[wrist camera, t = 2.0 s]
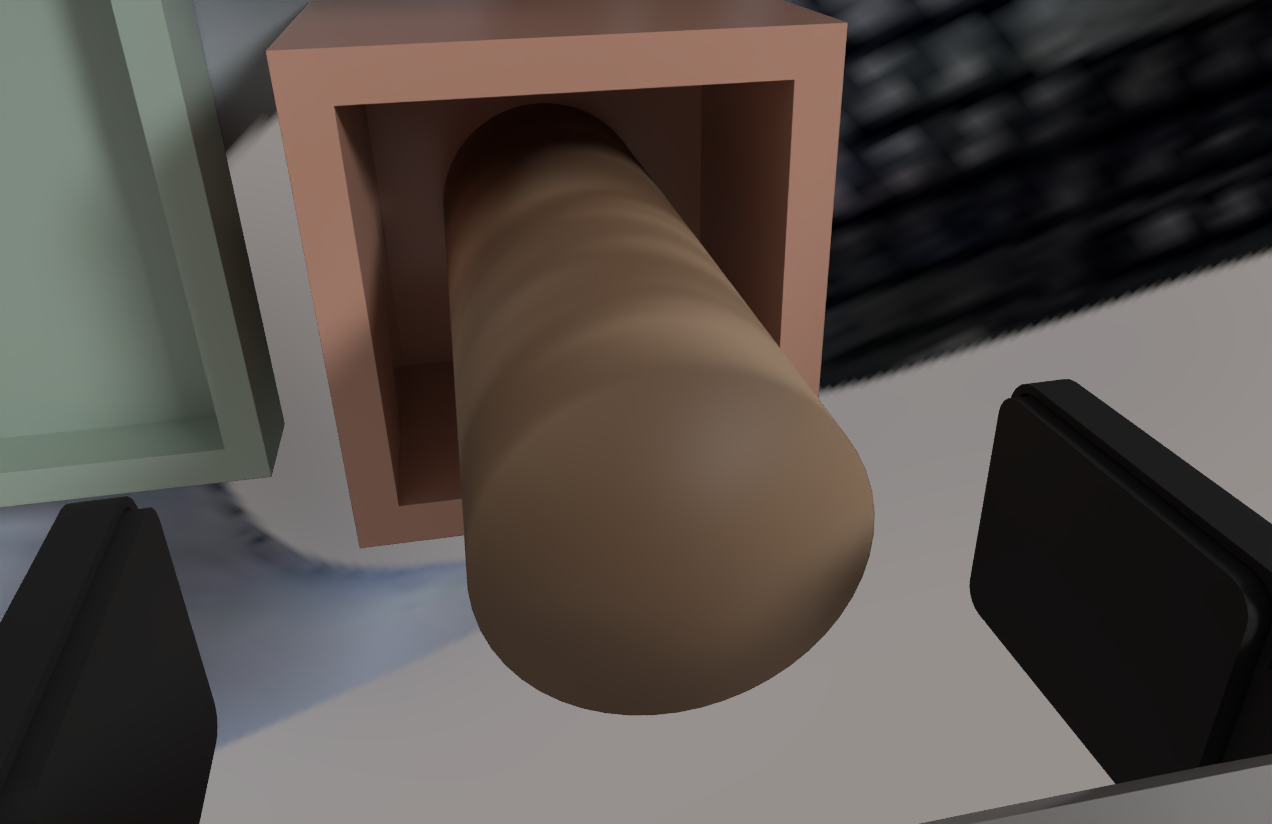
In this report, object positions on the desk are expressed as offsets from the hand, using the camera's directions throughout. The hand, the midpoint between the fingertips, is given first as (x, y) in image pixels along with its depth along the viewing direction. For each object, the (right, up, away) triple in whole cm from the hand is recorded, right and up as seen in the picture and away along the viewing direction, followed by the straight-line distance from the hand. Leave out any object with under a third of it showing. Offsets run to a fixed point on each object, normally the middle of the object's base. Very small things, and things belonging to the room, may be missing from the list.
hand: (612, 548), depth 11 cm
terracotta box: (-2, +6, +11) cm, 13 cm away
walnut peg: (-2, +6, +11) cm, 12 cm away
